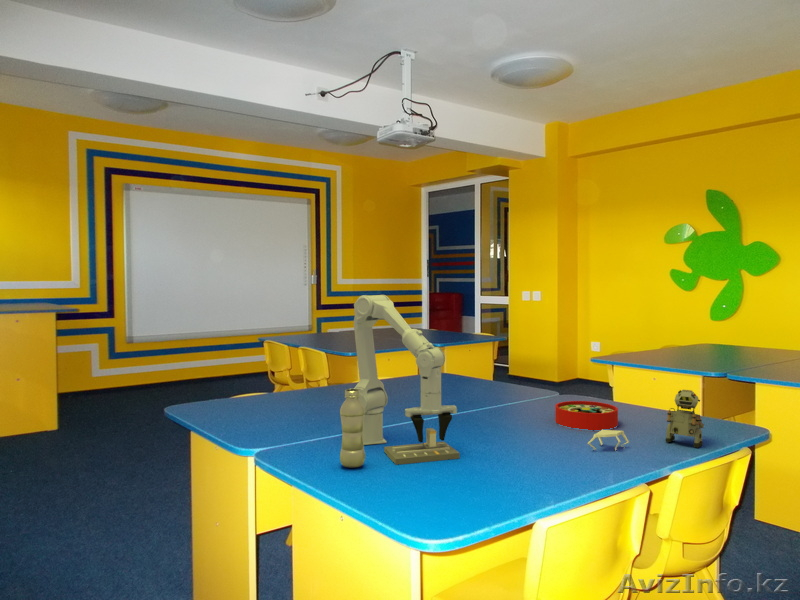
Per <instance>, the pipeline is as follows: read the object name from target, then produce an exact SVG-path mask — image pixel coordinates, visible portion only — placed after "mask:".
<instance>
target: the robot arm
mask: <svg viewBox="0 0 800 600" xmlns="http://www.w3.org/2000/svg"><path fill="white" fill-rule="evenodd" d="M394 304H395V303H394V302H393V301H392V300H391V299H390V297H388V296H387V295H385V294H379V295H377V294H376V295H367V294H365V295H364V294H363V295H360V296H359V297H358V298H357V299H356V301H355V302H354V303H353V307H354V308H353V310H354V319H353V329H354V330H353V331H354V339H355V348H356V349H355V350H356V357H357V358H356V359H357V367H358V376H359V377H358V378H359V381H358V382H357V383H356V385H355V386H354V388H353V389H358V390H359V395H360V397H359V400H360V402H361V403H362V404H363V406H364V409H365V414H364V422H363V445H364V446H365V445H368V446H369V445H378V444H387V440H386V439H385V438H384V435H383V434H384V433H383V430H384V428H383V426H384V425H383V424H384V421H383V420H384V419H383V412H384V409H385V408H384V407H386V406H387V405H388V394H387V391H386V390H385V386H384V383H383V382H382V381H381V380H380V379H379V378H378V369H377V359H376V358H377V357H376V349H375V341H374V332H373V327H374V326H375V324H376V323H377V322H378V321H379V320H381V319H382V320H384V321H386V322H387V323H388V324H389V325H390V326H391V327H392V328H393V329H394V330H395V331H396V332H397V333H398V334H399V335H400V336H401V343H402V344H403V345H404V346H405V348H406V349H408V351H409V352H410V353H411V354H412V355H413V356H414V358H415V363H416V364H415V365H416V366H417V367H418V370H419V372H418V373H419V376H420V406H414V407H411V408H410V407H409V408H405V409H404V415H405V417H407V418H410V419H411V420H410V421H412V423H413V426H414V428H415V431H416V435H417V440H418V441H417V442H419V444H420V443H424V422H425V419H423V416H432V415H433V416H435V415H437V418H438V425H439V426H438V428H439V429H438V430H439V431H438V437H439V440H440V441H441V442H443V441H444V442H445V438H446V433H447V430H448V427H449V424H450V423H451V421H452V420H453V415H452V414H458V412H457V411H458V408H457V406H456V405H455V404H453V405H452V404H451V405H449V404H448V405H445V404H444V405H443V404H442V367H443V366H444V365H445V362H446V355H445V353H444V351H443V349H442V348H440V347H438V346H437V347H436V346H434V345H433V343H432V342H429V340H428V339H427V338H426V337H425V336H424V335H423V331H422V329H418V328H412V327H411V326H410V325H409V324H408V322H406V320H405V319H404V318H403V316H402V315H401V314H400V313H399V311H398V310H397V309H396V308H395V305H394Z"/></svg>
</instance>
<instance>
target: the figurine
mask: <svg viewBox="0 0 800 600" xmlns="http://www.w3.org/2000/svg"><path fill="white" fill-rule="evenodd" d="M674 402H675V405H676V407H677V409H675V408H673V407H670V408H669V410H667V413H666V415H667V418H666V422H667V423H668V424H667V426H666V435H665V436H666V437H665V443H667V442H671V441H673V440H674V441H675V439H676V436H675V435H680V436H685V437H693V438H694V442H693V447H694V448H696V449H699V448H700V447H701V446H703V444H704V442H703V441H704V440H703V433H702V432H703V431H702V429H704V428H705V427H704V426H705V423H703V422H702V421H703V419H702V417H701V415H700V414H698V413H696V412H695V409H696V407H697V405H698V404H699V402H701V399H699V396H698V395H697V393H695V392H694V391H693V390H691V389H682V390H681V389H679V390H678V392H677V394H675V397H674ZM679 408H680V409H679ZM672 409H673V410H672ZM683 409H684V410H683ZM674 441H673V442H674ZM671 443H672V442H671Z"/></svg>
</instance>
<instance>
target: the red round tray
mask: <svg viewBox="0 0 800 600" xmlns="http://www.w3.org/2000/svg"><path fill="white" fill-rule="evenodd" d="M554 407H555V409H554V410H555V411H554V415H555V416H554V417H555V418H554V419H555V421H556V423H558V424H560V425H563V426H567V427H571V428H579V429H588V430H602V429H610V428H614V427H616V426H617V425H618V426H619V409H618V407H617V406H616V405H613V404H610V403H604V402H599V401H589V400H569V401H567V400H566V401H562V402H558V403H556V404H554ZM555 421H554V422H555ZM556 423H555V424H556Z"/></svg>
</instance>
